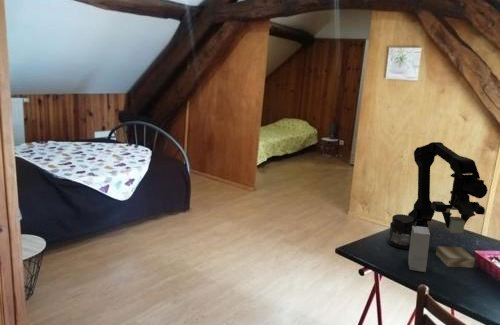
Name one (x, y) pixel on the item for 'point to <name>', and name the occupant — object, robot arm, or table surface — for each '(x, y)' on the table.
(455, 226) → the sage cube
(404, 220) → the supplement container
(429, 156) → the robot arm
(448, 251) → the birch block
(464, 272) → the table surface
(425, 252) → the skincare box
